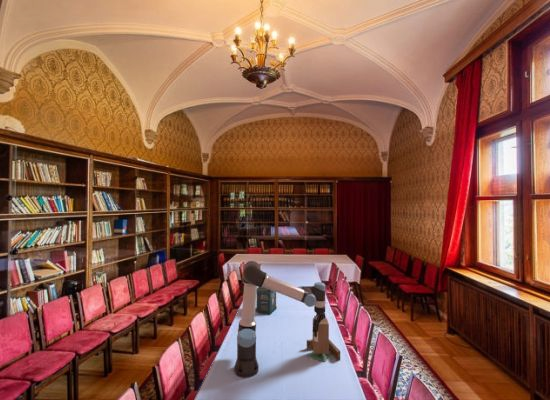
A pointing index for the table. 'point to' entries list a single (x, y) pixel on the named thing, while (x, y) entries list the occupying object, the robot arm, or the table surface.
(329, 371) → the table surface
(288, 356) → the table surface
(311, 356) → the pad
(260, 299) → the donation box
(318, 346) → the wooden block
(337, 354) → the wooden corner bracket
